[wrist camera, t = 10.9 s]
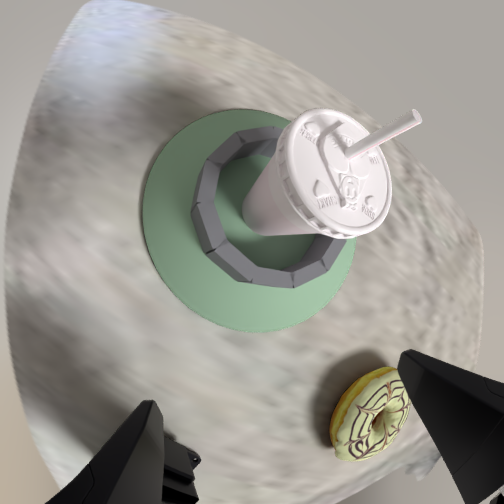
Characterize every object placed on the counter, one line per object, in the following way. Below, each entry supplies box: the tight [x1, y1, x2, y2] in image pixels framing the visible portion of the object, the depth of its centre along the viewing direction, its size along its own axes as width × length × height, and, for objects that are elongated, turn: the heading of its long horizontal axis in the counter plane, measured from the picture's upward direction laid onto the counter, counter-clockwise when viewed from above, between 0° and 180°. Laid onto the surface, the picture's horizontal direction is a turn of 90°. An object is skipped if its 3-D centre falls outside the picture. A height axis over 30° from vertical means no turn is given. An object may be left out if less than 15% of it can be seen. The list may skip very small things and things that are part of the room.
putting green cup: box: [143, 109, 357, 332], centre depth 19 cm, size 18×18×3 cm
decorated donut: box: [329, 367, 411, 461], centre depth 21 cm, size 10×11×4 cm
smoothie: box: [242, 108, 422, 239], centre depth 14 cm, size 6×6×14 cm
